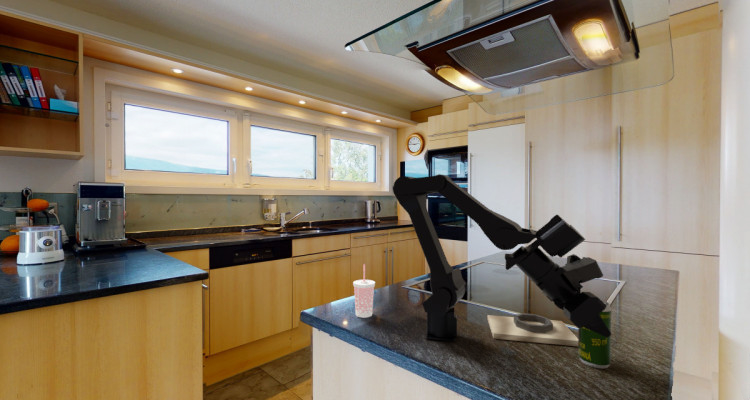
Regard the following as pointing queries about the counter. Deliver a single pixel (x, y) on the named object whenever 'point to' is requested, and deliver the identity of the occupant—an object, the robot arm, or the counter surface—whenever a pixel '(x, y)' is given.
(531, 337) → the board with grey ring
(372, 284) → the beverage cup
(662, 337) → the counter surface
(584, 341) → the beer can
